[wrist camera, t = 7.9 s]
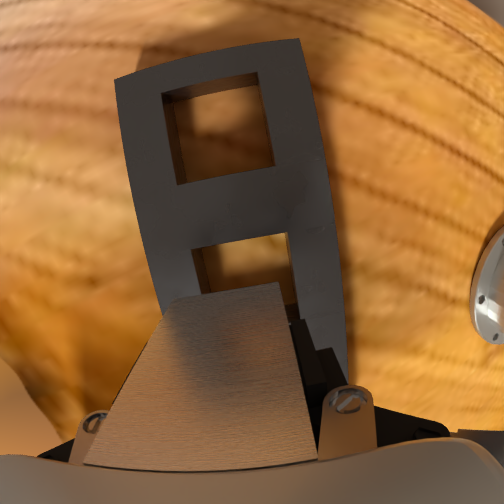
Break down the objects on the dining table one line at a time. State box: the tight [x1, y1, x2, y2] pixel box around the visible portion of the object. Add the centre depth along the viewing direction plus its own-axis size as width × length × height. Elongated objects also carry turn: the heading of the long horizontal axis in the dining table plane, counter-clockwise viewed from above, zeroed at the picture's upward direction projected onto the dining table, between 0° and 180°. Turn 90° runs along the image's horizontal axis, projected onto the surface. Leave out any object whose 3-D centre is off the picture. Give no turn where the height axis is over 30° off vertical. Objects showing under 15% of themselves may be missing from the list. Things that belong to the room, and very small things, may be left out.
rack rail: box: [114, 38, 348, 383], centre depth 22 cm, size 12×30×3 cm, turn 10°
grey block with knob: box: [83, 282, 318, 473], centre depth 9 cm, size 4×4×9 cm
